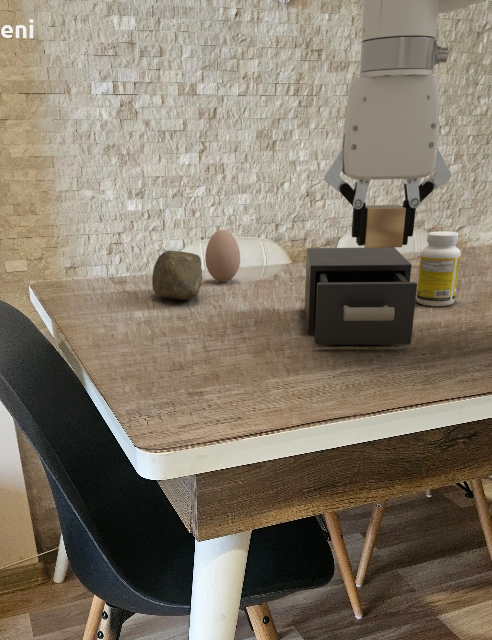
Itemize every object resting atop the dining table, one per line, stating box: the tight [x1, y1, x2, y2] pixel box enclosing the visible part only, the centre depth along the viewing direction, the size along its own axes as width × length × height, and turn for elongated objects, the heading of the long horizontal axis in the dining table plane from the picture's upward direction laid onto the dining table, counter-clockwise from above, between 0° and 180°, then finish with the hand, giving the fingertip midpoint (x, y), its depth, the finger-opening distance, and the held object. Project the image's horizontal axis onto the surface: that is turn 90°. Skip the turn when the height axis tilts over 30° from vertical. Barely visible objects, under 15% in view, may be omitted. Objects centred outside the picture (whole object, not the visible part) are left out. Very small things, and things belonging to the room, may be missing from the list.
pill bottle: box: [416, 230, 462, 307], centre depth 109 cm, size 6×6×11 cm
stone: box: [151, 250, 203, 301], centre depth 117 cm, size 17×9×8 cm, turn 20°
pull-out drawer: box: [314, 271, 418, 346], centre depth 90 cm, size 19×12×8 cm, turn 175°
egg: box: [204, 229, 241, 283], centre depth 129 cm, size 7×7×10 cm
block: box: [363, 204, 406, 248], centre depth 78 cm, size 4×4×4 cm
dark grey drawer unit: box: [304, 247, 413, 336], centre depth 99 cm, size 16×14×10 cm
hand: (381, 242), depth 79 cm, fingers closed on block, 4 cm apart
